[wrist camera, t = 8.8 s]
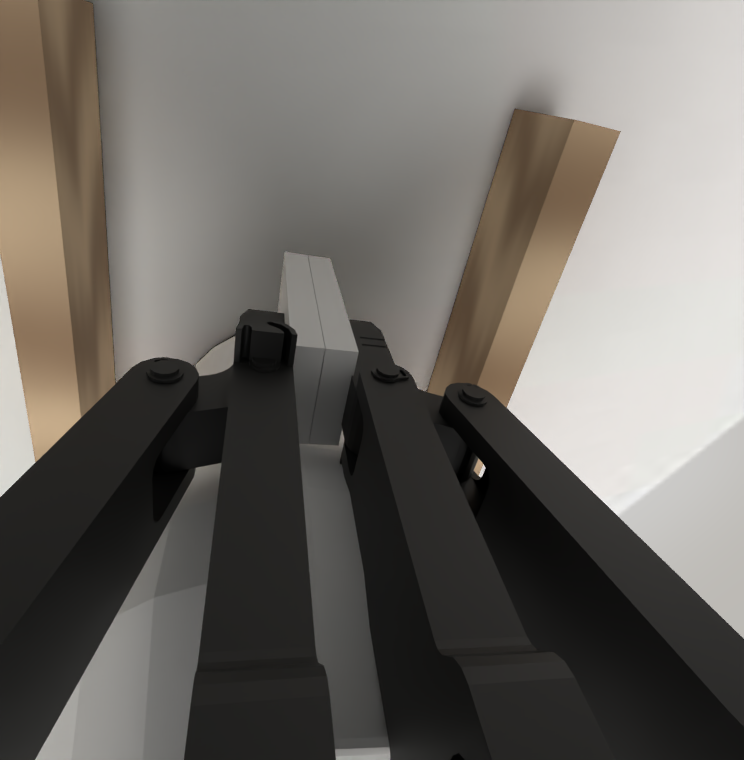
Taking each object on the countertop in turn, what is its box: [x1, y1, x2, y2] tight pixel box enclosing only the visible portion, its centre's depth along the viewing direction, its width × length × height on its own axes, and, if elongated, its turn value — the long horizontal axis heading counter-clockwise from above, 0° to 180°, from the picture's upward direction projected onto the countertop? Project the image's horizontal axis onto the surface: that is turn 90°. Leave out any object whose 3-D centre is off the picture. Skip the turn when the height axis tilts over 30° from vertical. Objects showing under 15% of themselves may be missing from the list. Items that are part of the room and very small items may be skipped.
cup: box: [35, 336, 390, 760], centre depth 16 cm, size 11×11×15 cm
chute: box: [0, 0, 621, 475], centre depth 19 cm, size 20×16×4 cm
